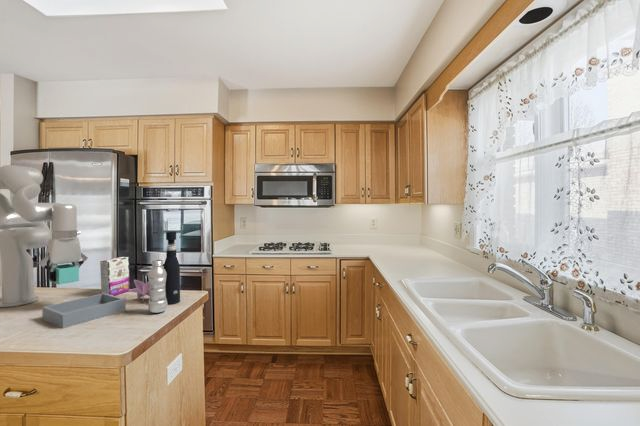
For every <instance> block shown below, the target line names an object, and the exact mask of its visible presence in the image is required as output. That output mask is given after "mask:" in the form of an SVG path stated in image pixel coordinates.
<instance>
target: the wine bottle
mask: <svg viewBox="0 0 640 426" xmlns="http://www.w3.org/2000/svg"><path fill="white" fill-rule="evenodd" d="M175 240H176V241H177V232H176V231H167V232H165V241H167V246H166V250H165V251H166V257H165V260H164V262H163V266H162V267H163V268H164V269H165V270H166V273H167V277H166V287H165V288H166V289H165V291H166V299H167V303H168V305H170V306H172V305H176V304H179V303H180V302H181V276H180V275H181V270H180V269H181V267H180V262H179V259H178V257H177V249H176V245H175ZM168 305H167V306H168Z"/></svg>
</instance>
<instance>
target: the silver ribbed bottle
mask: <svg viewBox="0 0 640 426" xmlns="http://www.w3.org/2000/svg"><path fill="white" fill-rule="evenodd" d="M151 266H152V267H151V269H150V270H149V271H148V273H147V278H148V282H149V286H150V296H149V298H148V299H149V301H148V305H147V306H148V307H147V308H148V311H149V313H151V314H158V313H159V314H160V313H164V312H165V311H166V310H167V309H168V303H167V299H166V291H165V289H166V288H165V287H166V277H167V273H166V270H165V269H164V268H163V267H164V261H163V259H155V260H151Z"/></svg>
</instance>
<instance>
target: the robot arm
mask: <svg viewBox="0 0 640 426" xmlns="http://www.w3.org/2000/svg"><path fill="white" fill-rule="evenodd" d="M43 181H44V176H43V173H42V172H41V170H39V169H38V168H35V167H31V166H22V165H13V164H7V165H6V164H5V165H2V166H0V190H8V191H9V192H11V193H12V194H13V195H12V198H11V202H10V200H9V198H7V196H6V195H4V194H3V193H1V192H0V230H1V231H0V269H1V270H0V271H1V272H0V273H1V274H0V275H1V278H0V279H1V300H0V308H12V307H18V306H23V305H24V306H25V305H28V304H32V303H34V302H36V301H38V300H40V297H39V295H35V291H34V290H35V289H34V287H35V284H34V260H33V259H34V258H33V257H32V255H31V254H30V253H29V252H28V251H27V250H31V249H41V248H46V252H45V253H46V254H45V257H43V258H42V259H41V260H40V261H39V262H38V265H39V266H40V267H42V268H44V269H45V270H46V271H48V279H49V280H51V281H53V282H55V281H56V271H55V268H56V266H57V265H63V264H72V265H76V266H79V269H80V267H81V266H82V265H83V264H84V263H85V261H87V260H88V256H86V255H85V254H84V253H82V251H81V250H82V249H81V244H80V239H79V237H78V235H81V230H80V231H79V230H77V227H78V226H77V221H78V219H77V216H78V215H77V212H78V211H77V210H78V209H77V208H78V207H77V206H76V205H75V204H71V203H70V204H69V203H60V202H33V201H31V200H32V199H35V198H36V197H39V195H40V194H41V191H42V189H41V184H42V183H43ZM47 222H51V229H50V228H49V226H48V224H47ZM48 264H49V265H48ZM53 282H52V283H53Z"/></svg>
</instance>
